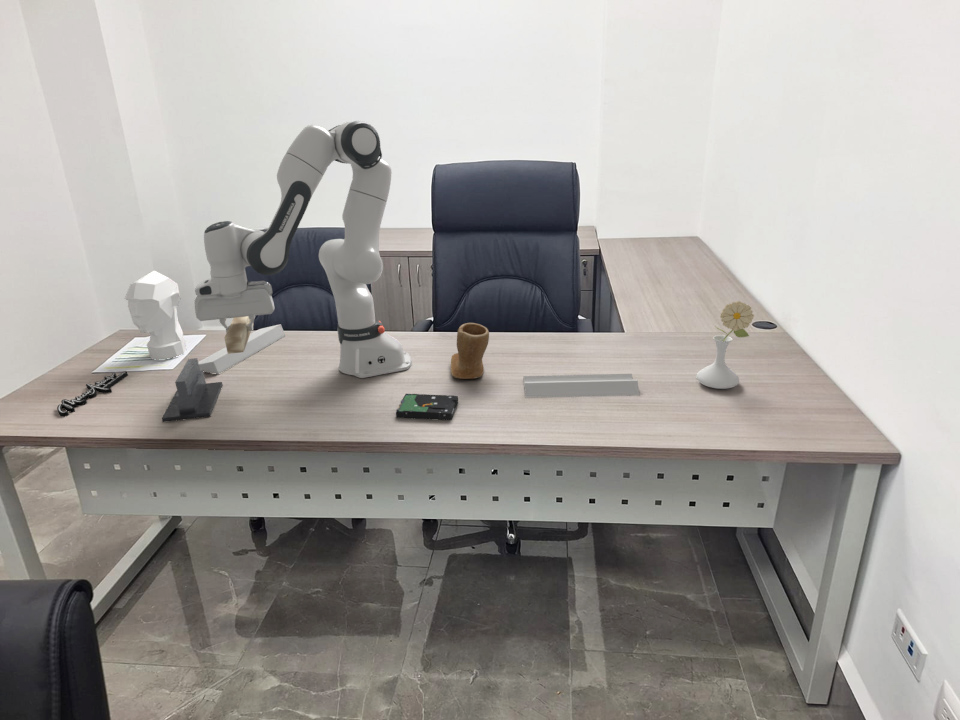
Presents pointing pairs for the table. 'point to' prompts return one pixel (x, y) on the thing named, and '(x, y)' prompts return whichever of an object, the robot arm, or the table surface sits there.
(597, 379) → the crown molding
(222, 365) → the decorative molding
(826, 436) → the table surface
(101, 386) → the nameplate
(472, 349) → the brown boot
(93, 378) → the table surface
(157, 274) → the head bust
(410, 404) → the disk drive
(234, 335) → the beech rod
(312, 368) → the table surface
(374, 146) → the robot arm
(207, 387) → the dark gray stand
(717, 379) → the flower in vase
